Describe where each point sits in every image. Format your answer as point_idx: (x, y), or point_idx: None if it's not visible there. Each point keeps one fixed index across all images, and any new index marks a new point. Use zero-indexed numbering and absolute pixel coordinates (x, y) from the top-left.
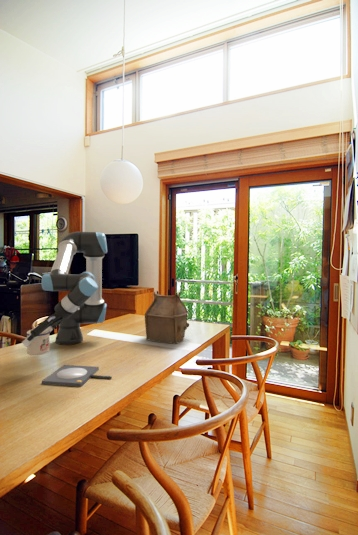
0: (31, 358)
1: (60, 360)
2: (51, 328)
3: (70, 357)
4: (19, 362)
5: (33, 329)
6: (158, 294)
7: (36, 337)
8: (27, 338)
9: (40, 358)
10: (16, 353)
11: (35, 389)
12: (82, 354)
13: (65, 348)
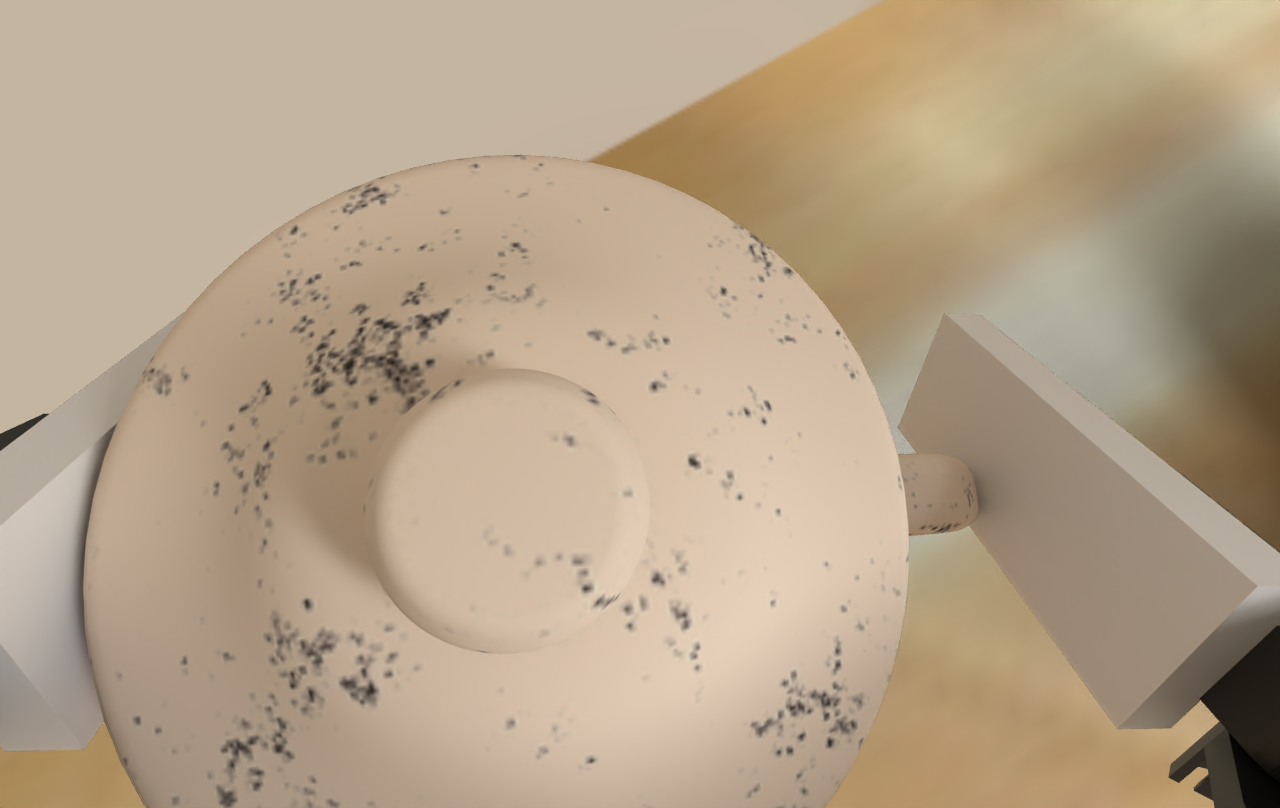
0: (895, 256)
1: (913, 589)
2: (1130, 677)
3: (1028, 655)
4: (769, 204)
5: (310, 388)
6: None
7: (92, 697)
8: (3, 438)
9: (917, 342)
10: (983, 55)
11: (34, 793)
12: (1157, 751)
13: (1262, 443)
